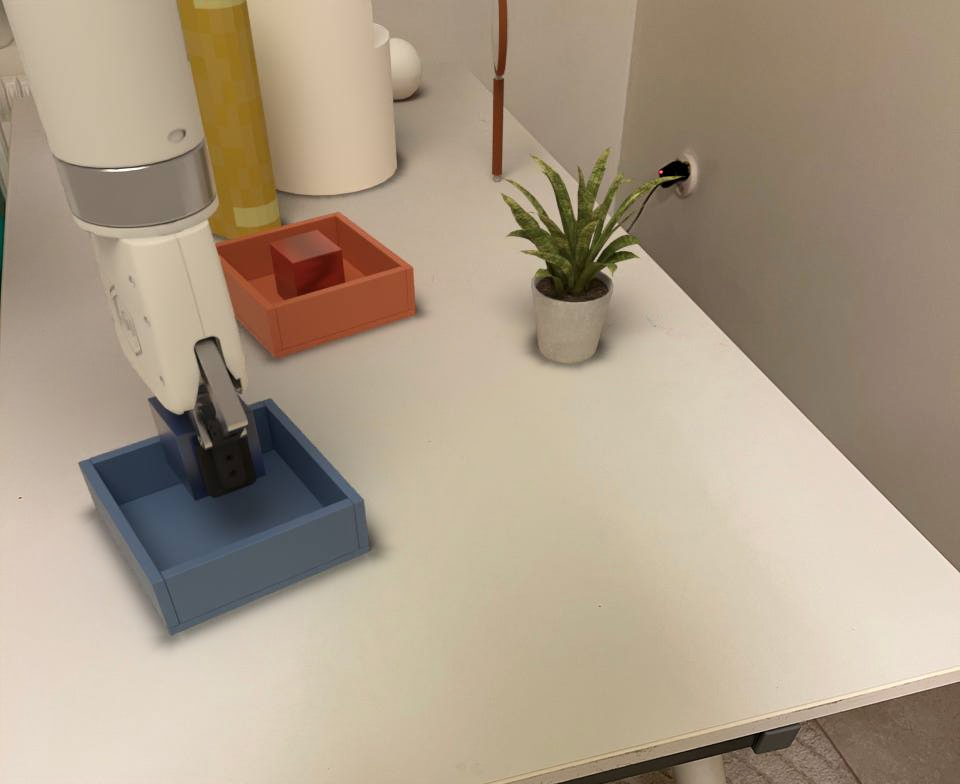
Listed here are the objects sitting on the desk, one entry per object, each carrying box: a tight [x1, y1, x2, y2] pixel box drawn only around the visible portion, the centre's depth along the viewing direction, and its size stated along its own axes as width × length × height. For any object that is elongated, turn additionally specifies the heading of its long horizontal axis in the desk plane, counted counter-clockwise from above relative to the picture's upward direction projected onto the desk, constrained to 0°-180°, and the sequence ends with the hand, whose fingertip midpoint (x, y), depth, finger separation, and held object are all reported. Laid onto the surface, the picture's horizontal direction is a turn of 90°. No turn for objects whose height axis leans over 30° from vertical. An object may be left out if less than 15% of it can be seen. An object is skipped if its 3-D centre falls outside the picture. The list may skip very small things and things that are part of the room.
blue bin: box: [77, 397, 371, 636], centre depth 63 cm, size 15×15×5 cm
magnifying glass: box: [490, 0, 509, 183], centre depth 100 cm, size 9×2×20 cm, turn 3°
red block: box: [269, 230, 345, 300], centre depth 85 cm, size 5×5×5 cm
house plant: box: [499, 147, 686, 364], centre depth 76 cm, size 14×14×16 cm
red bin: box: [215, 211, 417, 360], centre depth 85 cm, size 15×15×5 cm
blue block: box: [147, 384, 266, 501], centre depth 58 cm, size 5×5×5 cm
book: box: [177, 0, 282, 240], centre depth 91 cm, size 17×7×25 cm, turn 55°
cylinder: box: [247, 0, 398, 196], centre depth 100 cm, size 17×17×28 cm
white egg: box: [389, 37, 423, 101], centre depth 125 cm, size 10×7×7 cm
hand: (214, 464), depth 60 cm, fingers closed on blue block, 5 cm apart
